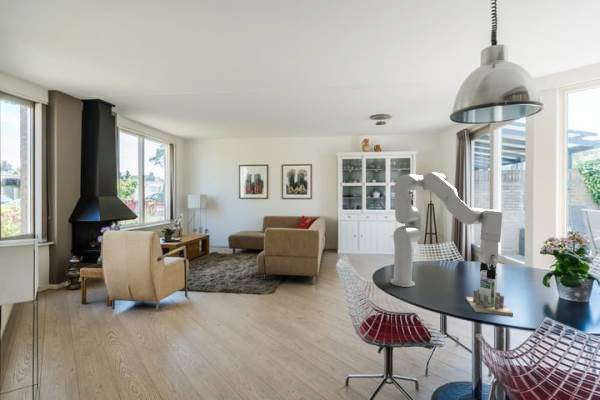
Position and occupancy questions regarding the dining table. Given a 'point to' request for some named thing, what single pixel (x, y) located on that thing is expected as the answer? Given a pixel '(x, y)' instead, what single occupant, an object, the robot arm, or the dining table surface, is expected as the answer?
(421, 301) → the dining table surface
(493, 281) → the syrup box
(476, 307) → the pin tray
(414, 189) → the robot arm
